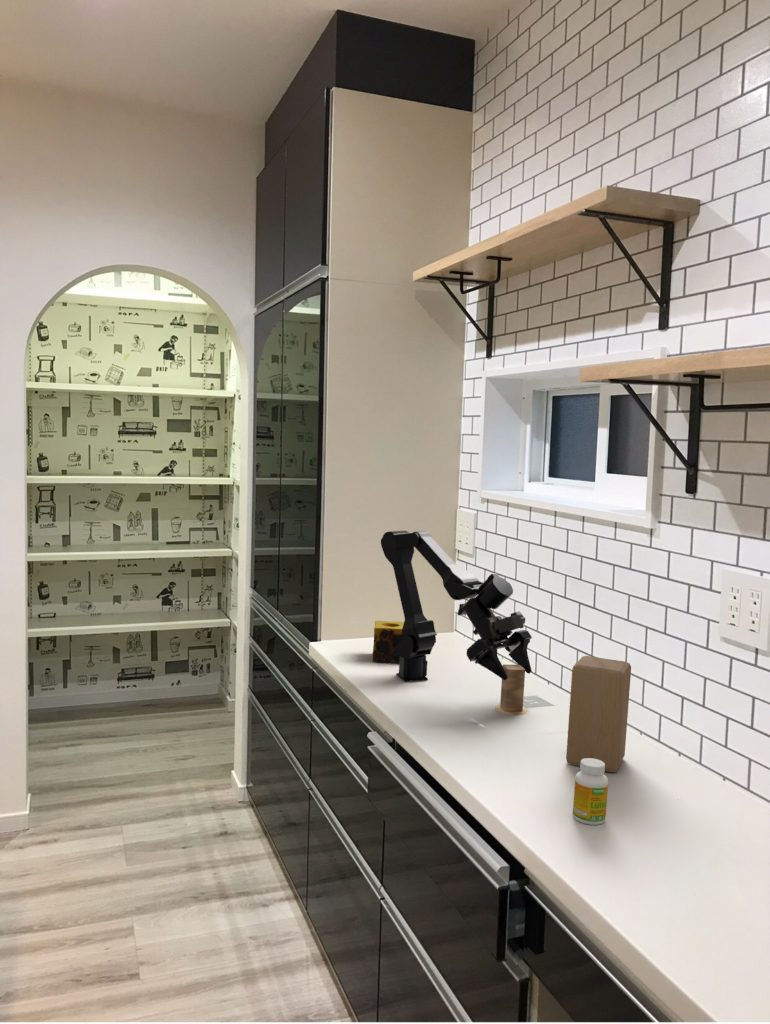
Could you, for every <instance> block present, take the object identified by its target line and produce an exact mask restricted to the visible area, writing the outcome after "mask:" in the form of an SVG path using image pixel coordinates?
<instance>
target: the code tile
mask: <svg viewBox="0 0 770 1024" xmlns="http://www.w3.org/2000/svg"><path fill="white" fill-rule="evenodd" d="M523 707H525V708H526V709H531V708H534V709H535V708H542V707H555V705H554V704H552V703H551V702H549V701H547V700H546V699H543V698H541V697H540V696H539V695H527V696H526V695H524V696H523Z"/></svg>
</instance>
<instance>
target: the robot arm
mask: <svg viewBox="0 0 770 1024" xmlns="http://www.w3.org/2000/svg"><path fill="white" fill-rule="evenodd" d="M380 546H381V549H382V552H383V554H384V557H385V559H386V560H387V561H388V562H389V563H390V564H391V566H392V568H393V572H394V576H395V577H394V578H395V581H396V585H397V591H398V594H399V600H400V603H401V607H402V612H403V617H404V621H403V622H404V624H403V628H402V638H403V639H402V640H401V641H400V642H399V643H398V644H397V645H396V646H395V647H394V649H395V654H396V656H400V660H399V664H398V672H397V673H396V674H395V675H396V677H398V678H399V679H400V680H402V681H404V682H406V683H407V682H421V681H422V682H423V681H428V680H429V678H428V677H427V674H428V660H427V655H431V653H432V650H433V647H435V644H436V642H437V637H436V636H438V633H437V631H436V630H435V622H434V620H433V619H430V620H428V618H426V616H425V615H424V611H423V608H422V604H421V598H420V594H419V589H418V585H417V581H416V576H415V573H414V567H413V564H412V561H413V557H414V553H415V549H416V550H417V551H418V553H419V554H420V555H421V557H423V558H424V559H425V560H426V562H427V563H428V564H429V565H430V566H431V567H432V568H433V570H435V572H437V574H438V575H439V576H440V578H441V579H442V584H443V588H444V589H445V590H446V592H447V595H449V597H450V598H451V599H452V600H454V601H463V600H467V601H466V602H465V603H460V604H459V605H458V606H459V607H458V610H457V615H458V616H464V615H466V616H467V617H468V620H469V621H470V622H471V624H472V626H473V627H474V628H475V629H474V630H472V633H473V634H474V635H475V636H477V635H478V636H479V637H480V638H479V639H477V640H475V641H474V642H473V643H472V644H471V645H470V646H469V647H468V648H467V649H466V657H467V659H468V660H469V662H470V663H471V662H474V663H475V664H478V665H479V666H481V667H483V668H484V669H487V670H488V671H489V672H492V673H493V674H494V675H495V676H498V677H499V678H500V679H501V680H502V679H503V680H506V679H507V678H508V676H507V674H506V672H505V670H504V668H503V664H502V663H501V660H500V658H499V657H498V650H500V649H505V651H507V652H508V656H509V657H510V658H511V659H512V660H513V661H514V662H515V663H516V665H521V666H522V667H523V668H524V669H525V673H527V674H531V673H532V672H533V671H532V670H533V669H532V668H531V663H530V658H529V655H528V647H529V644H530V643H531V639H533V638H532V635H531V633H530V632H529V631H528V630H526V629H523V628H524V624H525V623H526V617H525V616H524V615H523V614H522V612H521V611H515V612H512V613H510V615H509V616H507V617H502V616H500V615H498V616H497V615H495V613H494V612H493V610H497V609H498V608H499V607H501V605H503V603H505V602H506V601H507V600H508V599H509V598H510V597H511V596H512V595H513V594H514V589H513V586H512V585H511V583H510V582H508V581H507V580H506V579H505V578H504V577H501V576H500V575H499V573H497V572H494V573H491V574H489V576H488V577H487V579H486V580H484V581H483V582H482V581H480V580H479V579H478V577H476V576H475V575H474V574H473V573H472V572H470V571H469V570H466V569H465V568H463V567H461V566H459V565H458V564H456V563H455V562H454V560H453V559H452V558H451V557H450V556H449V555H448V554H447V553H446V552H445V551H444V550H443V548H442V547H440V545H439V544H438V543H437V542H436V541H435V540H434V539H433V538H432V535H431V533H430V532H429V531H425V530H421V531H420V530H419V531H413V532H409V531H407V530H393V531H392V530H391V531H386V532H384V533H383V535H382V538H380ZM518 629H520V630H518ZM521 629H522V630H521ZM514 630H516V631H514ZM513 631H514V632H513Z"/></svg>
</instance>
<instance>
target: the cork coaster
mask: <svg viewBox="0 0 770 1024" xmlns="http://www.w3.org/2000/svg"><path fill="white" fill-rule="evenodd" d="M494 709H495V711H497V712H499V713H501V714H506V715H511V716H520V715H525V714H527V713H528V712H529V711H528V708H525V707H523V712H505V711H504V710H503V709H502V708H501V706H500V704H497V705H495V706H494Z"/></svg>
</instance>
